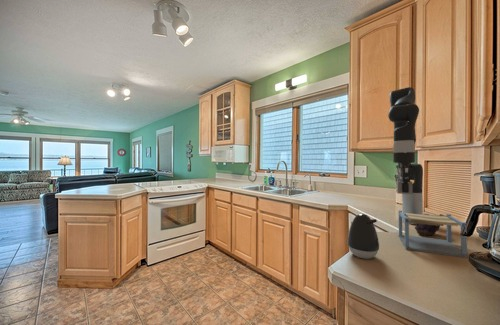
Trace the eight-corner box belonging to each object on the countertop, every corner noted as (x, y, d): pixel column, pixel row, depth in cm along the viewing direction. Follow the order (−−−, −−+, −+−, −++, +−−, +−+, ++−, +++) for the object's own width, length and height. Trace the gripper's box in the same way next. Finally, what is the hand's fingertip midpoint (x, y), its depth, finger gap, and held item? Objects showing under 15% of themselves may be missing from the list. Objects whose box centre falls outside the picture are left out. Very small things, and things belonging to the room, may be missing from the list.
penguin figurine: (366, 264, 71) (365, 218, 71) (341, 252, 80) (341, 212, 81) (386, 259, 75) (386, 215, 75) (360, 248, 84) (360, 210, 85)
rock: (413, 236, 101) (441, 241, 95) (411, 219, 101) (440, 222, 94) (415, 227, 110) (441, 230, 103) (414, 211, 109) (440, 213, 103)
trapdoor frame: (398, 236, 99) (398, 210, 99) (449, 242, 91) (449, 213, 91) (405, 249, 83) (405, 218, 84) (468, 258, 75) (467, 223, 75)
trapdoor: (402, 220, 97) (402, 211, 97) (445, 224, 90) (445, 215, 90) (409, 229, 85) (409, 218, 85) (459, 234, 78) (459, 223, 78)
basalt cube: (396, 192, 95) (396, 180, 95) (410, 192, 92) (410, 181, 92) (397, 193, 90) (397, 181, 90) (412, 194, 88) (412, 182, 88)
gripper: (391, 152, 99) (392, 189, 99) (395, 151, 87) (395, 193, 87) (411, 152, 96) (412, 190, 96) (418, 150, 83) (419, 194, 83)
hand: (404, 191), depth 91 cm, fingers closed on basalt cube, 5 cm apart
